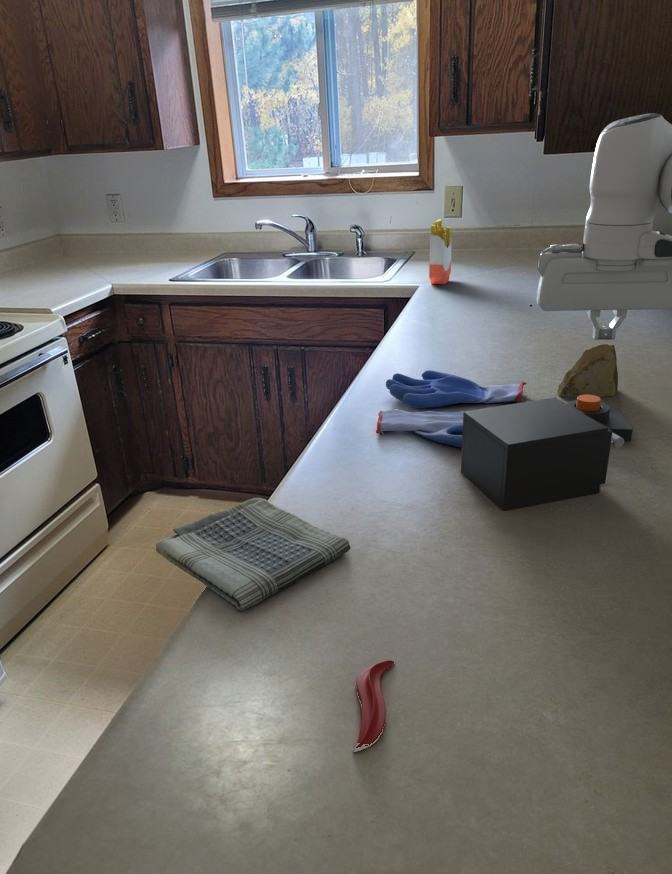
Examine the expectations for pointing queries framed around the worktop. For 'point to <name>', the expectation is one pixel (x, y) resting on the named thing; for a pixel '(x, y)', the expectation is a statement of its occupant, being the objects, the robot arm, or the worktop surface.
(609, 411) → the push button unit
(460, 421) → the pair of gloves
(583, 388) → the rock
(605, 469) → the drawer
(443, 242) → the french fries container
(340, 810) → the worktop surface
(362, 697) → the cayenne pepper
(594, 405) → the button
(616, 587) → the worktop surface
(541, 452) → the matte charcoal box
